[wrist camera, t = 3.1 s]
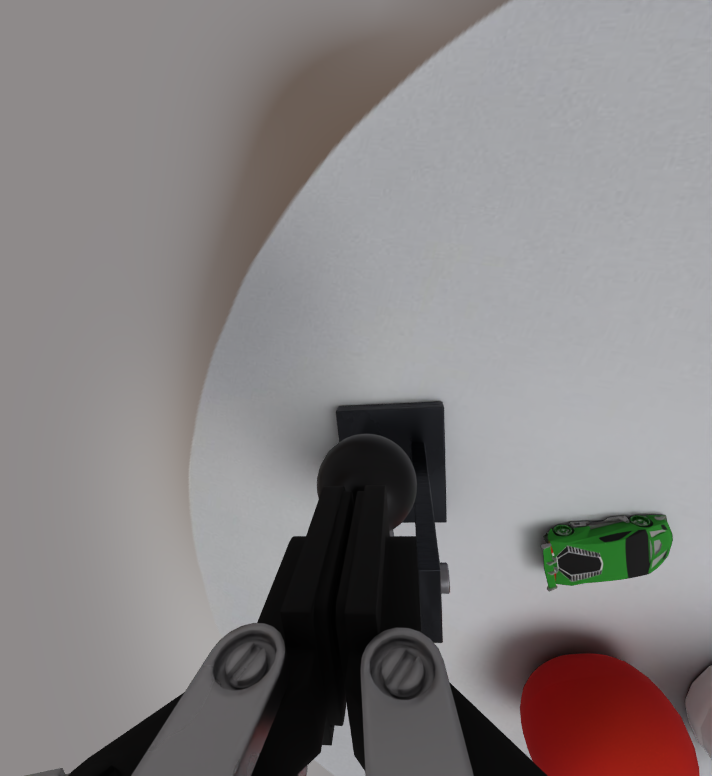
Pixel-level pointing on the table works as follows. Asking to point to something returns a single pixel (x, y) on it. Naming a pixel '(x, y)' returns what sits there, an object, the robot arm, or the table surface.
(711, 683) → the bottle
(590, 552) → the toy car
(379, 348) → the table surface
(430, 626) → the bracket
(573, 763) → the tomato
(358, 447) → the lever
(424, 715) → the robot arm
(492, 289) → the table surface
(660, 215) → the table surface
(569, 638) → the table surface
